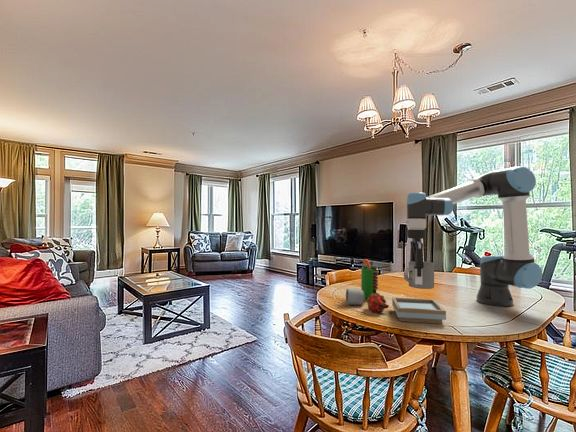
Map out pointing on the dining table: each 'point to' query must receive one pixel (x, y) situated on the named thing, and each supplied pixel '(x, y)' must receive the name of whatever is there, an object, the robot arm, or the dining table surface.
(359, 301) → the ceramic mug
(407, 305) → the picture frame
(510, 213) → the robot arm
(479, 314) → the dining table surface
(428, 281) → the coffee mug
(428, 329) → the dining table surface
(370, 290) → the green and brown toy
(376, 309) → the dragon fruit
